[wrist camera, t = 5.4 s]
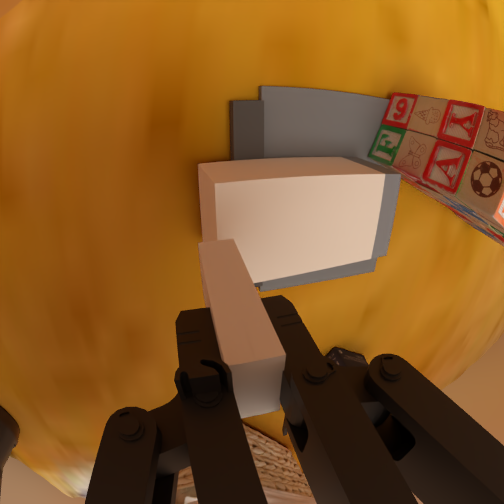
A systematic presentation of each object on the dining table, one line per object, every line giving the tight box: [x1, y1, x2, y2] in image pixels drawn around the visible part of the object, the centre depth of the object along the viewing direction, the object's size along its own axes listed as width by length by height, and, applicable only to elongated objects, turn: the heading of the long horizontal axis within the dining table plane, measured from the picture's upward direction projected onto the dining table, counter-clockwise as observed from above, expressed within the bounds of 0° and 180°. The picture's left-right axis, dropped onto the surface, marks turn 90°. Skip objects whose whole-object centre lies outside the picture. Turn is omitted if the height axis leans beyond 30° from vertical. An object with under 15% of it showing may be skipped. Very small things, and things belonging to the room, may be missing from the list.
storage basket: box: [175, 424, 317, 504], centre depth 33 cm, size 24×16×15 cm
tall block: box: [198, 157, 401, 283], centre depth 19 cm, size 5×6×12 cm
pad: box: [230, 86, 390, 292], centre depth 22 cm, size 14×16×1 cm
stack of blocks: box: [368, 92, 504, 246], centre depth 19 cm, size 21×6×12 cm, turn 68°
